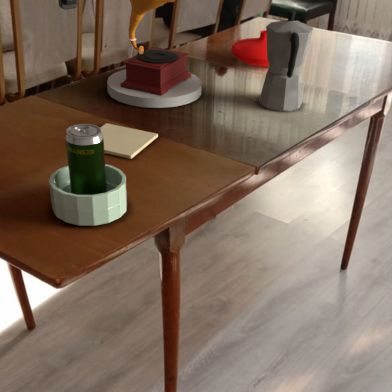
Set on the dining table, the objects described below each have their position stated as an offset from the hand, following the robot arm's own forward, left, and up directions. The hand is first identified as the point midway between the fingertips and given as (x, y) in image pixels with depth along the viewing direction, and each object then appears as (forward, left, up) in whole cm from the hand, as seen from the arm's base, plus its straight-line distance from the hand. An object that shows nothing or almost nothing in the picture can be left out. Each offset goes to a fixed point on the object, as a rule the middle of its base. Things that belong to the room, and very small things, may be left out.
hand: (51, 0), depth 79 cm
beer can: (+1, -3, -28) cm, 28 cm away
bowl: (+1, -3, -28) cm, 28 cm away
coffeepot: (+59, +4, -28) cm, 66 cm away
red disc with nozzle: (+79, +25, -28) cm, 88 cm away
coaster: (+21, +13, -28) cm, 38 cm away
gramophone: (+45, +28, -28) cm, 60 cm away
